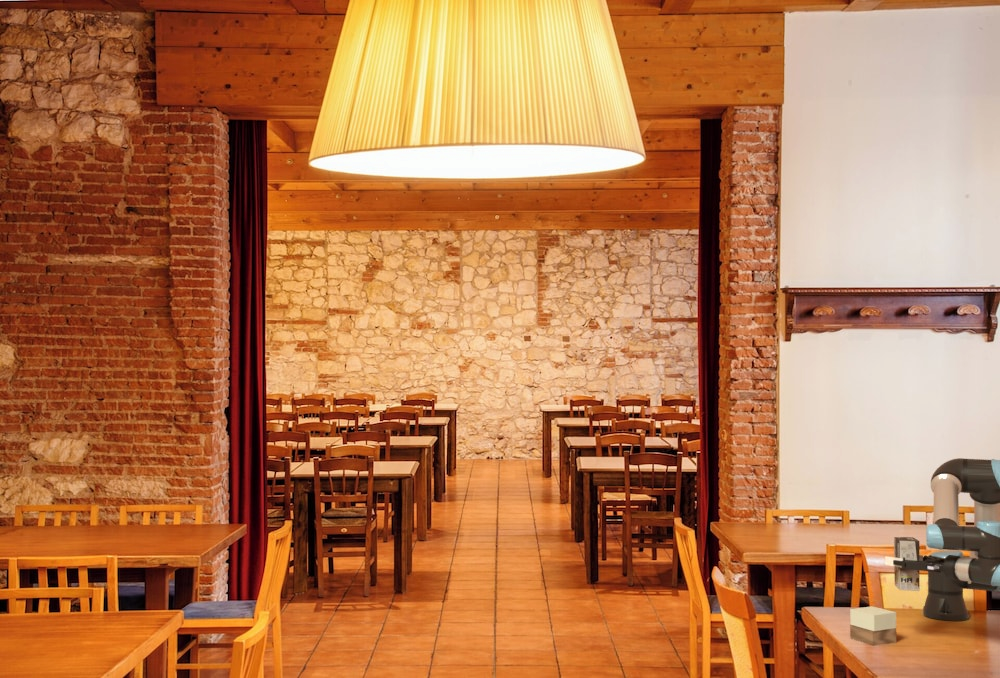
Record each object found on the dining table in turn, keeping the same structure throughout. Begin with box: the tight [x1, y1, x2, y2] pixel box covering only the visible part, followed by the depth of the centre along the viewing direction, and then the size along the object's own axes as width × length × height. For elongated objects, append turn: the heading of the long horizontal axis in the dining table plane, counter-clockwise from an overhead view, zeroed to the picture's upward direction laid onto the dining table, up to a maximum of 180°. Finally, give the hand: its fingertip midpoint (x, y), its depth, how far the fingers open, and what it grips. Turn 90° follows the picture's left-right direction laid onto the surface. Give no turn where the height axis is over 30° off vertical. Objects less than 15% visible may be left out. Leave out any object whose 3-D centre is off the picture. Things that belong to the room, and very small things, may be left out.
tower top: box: [849, 605, 897, 631], centre depth 340 cm, size 10×10×5 cm
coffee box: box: [893, 536, 920, 592], centre depth 340 cm, size 9×6×16 cm
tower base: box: [849, 624, 897, 646], centre depth 340 cm, size 10×10×5 cm
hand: (894, 558), depth 343 cm, fingers closed on coffee box, 10 cm apart
